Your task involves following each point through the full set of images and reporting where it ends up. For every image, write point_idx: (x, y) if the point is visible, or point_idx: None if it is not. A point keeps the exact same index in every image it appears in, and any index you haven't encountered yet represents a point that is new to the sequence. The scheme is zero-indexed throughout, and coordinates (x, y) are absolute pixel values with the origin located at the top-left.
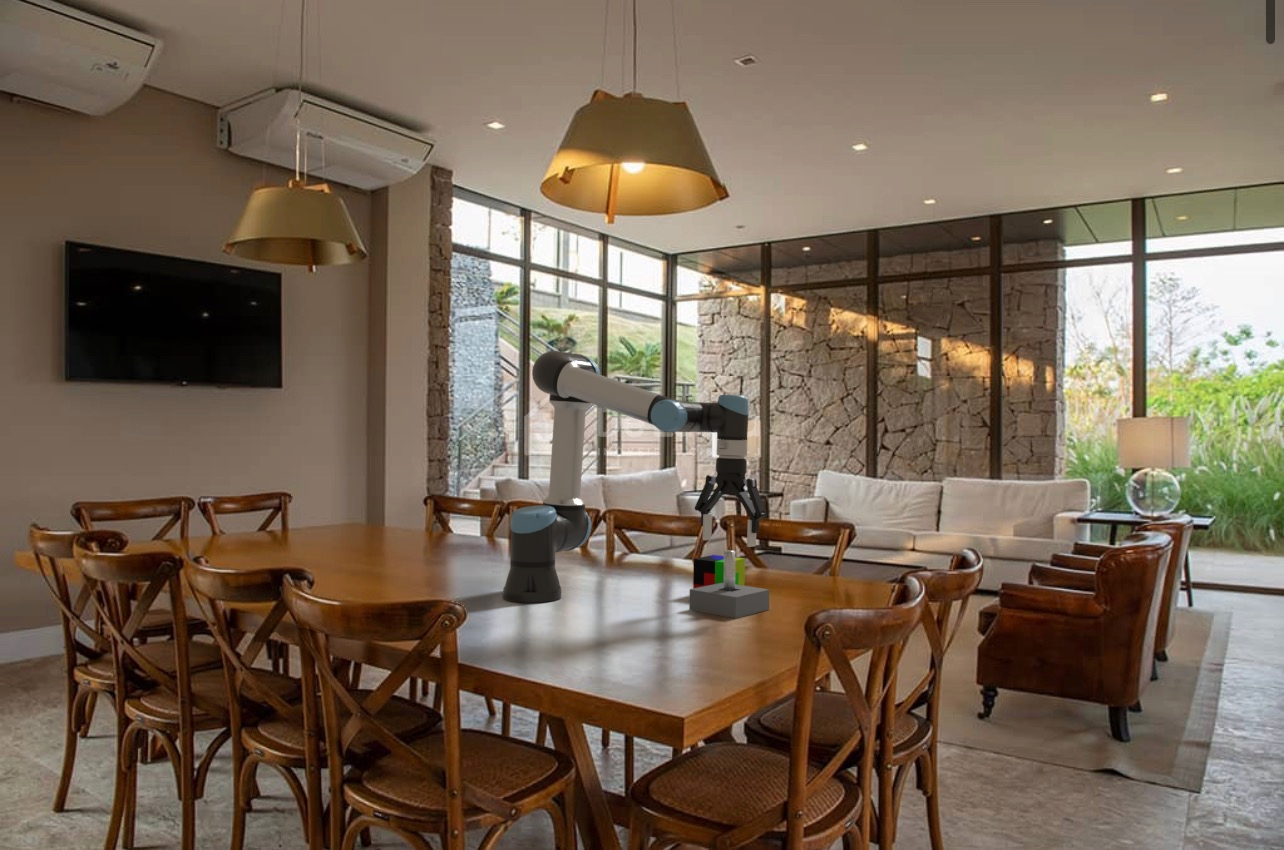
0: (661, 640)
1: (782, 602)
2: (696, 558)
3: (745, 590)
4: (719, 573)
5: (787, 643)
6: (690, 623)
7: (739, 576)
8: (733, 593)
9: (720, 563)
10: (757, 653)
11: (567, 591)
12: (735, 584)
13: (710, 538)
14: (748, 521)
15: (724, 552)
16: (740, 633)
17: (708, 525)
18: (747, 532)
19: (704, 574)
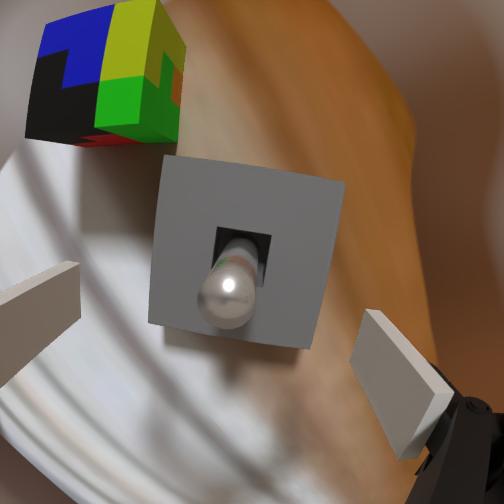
0: (266, 490)
1: (315, 69)
2: (27, 123)
3: (289, 241)
4: (129, 132)
5: None
6: (243, 408)
7: (168, 50)
8: (280, 308)
9: (117, 126)
10: (403, 467)
11: None
12: (212, 163)
13: (76, 273)
14: (399, 451)
15: (210, 320)
16: (357, 415)
17: (36, 323)
18: (372, 405)
19: (83, 138)
